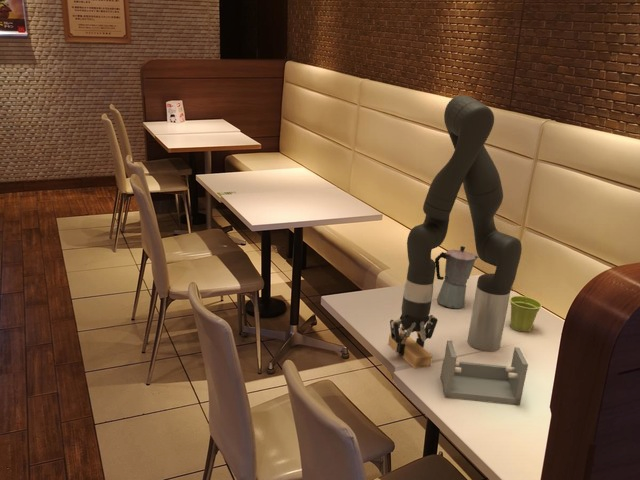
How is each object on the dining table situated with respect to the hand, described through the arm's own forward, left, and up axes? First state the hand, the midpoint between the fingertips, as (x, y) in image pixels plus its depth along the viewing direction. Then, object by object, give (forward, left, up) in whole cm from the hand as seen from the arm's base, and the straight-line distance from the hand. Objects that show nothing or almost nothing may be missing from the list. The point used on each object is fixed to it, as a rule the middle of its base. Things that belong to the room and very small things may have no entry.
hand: (409, 353), depth 173 cm
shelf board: (0, 0, 0) cm, 0 cm away
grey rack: (+16, +16, 0) cm, 23 cm away
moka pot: (-38, +16, -1) cm, 41 cm away
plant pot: (-25, +36, -1) cm, 44 cm away
